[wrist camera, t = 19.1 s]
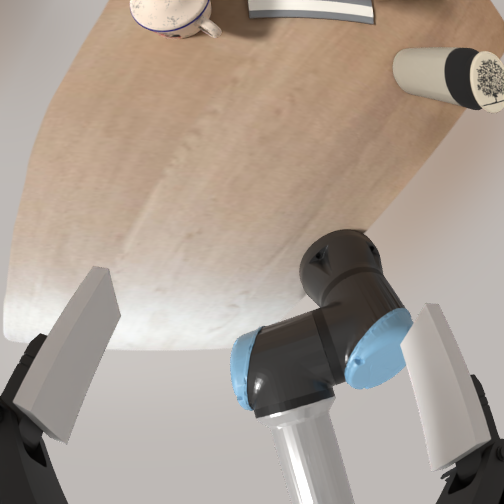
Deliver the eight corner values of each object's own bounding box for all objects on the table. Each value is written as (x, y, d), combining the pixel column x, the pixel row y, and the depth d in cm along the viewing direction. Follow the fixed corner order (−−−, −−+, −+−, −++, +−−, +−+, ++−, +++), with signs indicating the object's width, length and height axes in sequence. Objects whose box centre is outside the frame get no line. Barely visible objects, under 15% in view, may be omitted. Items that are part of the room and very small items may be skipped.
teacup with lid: (134, 21, 30) (104, 4, 20) (178, -25, 27) (163, -55, 17) (198, 64, 35) (187, 58, 25) (243, 19, 31) (249, -3, 22)
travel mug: (387, 48, 34) (465, 46, 19) (426, 48, 33) (507, 53, 18) (396, 96, 38) (473, 116, 23) (433, 93, 38) (512, 115, 22)
